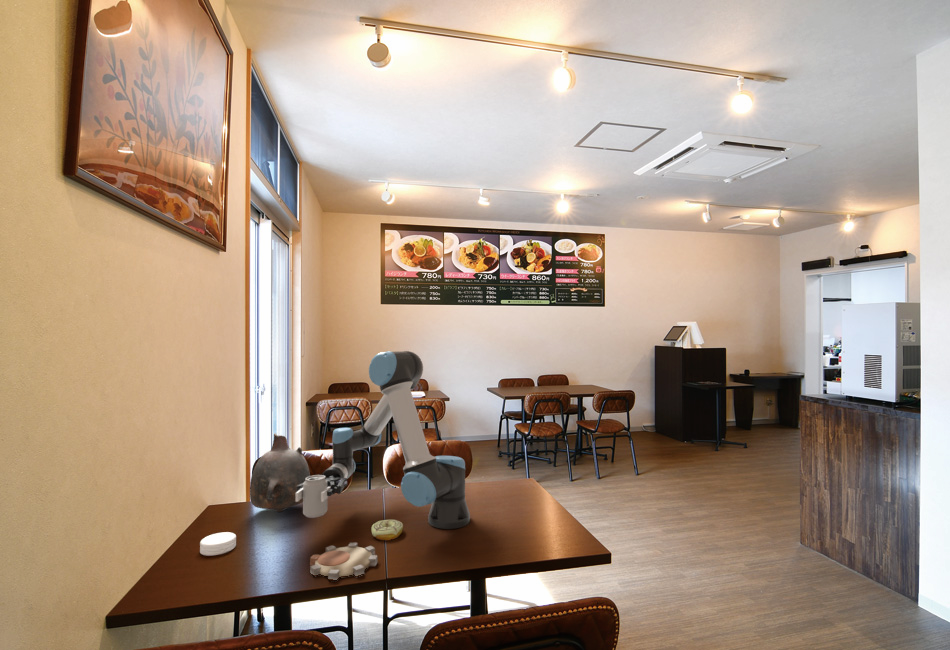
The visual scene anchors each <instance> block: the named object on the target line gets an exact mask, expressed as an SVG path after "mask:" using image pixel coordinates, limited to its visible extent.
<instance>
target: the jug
mask: <svg viewBox="0 0 950 650" xmlns="http://www.w3.org/2000/svg"><path fill="white" fill-rule="evenodd" d="M309 476H311V474H310V468H309V465H308V462H307V460H306V458H305V456H304V455H303V449H302V447H300V446H299V447H298V448H297V449H294V448H290V447H289V444H288V438H287V437H286V436H285V435H278V434H277V433H275V432H274V434H273V441H272V446H271V449H270V450H269V451H267V452H265V453H264V454H262V456H260V458H259V459H258V460H257V463H255V466H254V469H253V471H252V473H251V477H250V483H249V497H250V498H249V499H250V503H251V504H252V506H253V507H255V508H257V509H262V510H271V511H274V512H277V513H281V512H283V511H285V510H287V509H288V508H291V507H295V506H297V505H300V504H303V498H302V499H301V500H299V501H298V502H296V492H297V486H298V485H300V484H301V483H303V482H305V481H306V480H305V478H307V477H309Z"/></svg>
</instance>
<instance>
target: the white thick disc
mask: <svg viewBox="0 0 950 650" xmlns="http://www.w3.org/2000/svg"><path fill="white" fill-rule="evenodd" d="M199 546H200V547H199V553H200V554H201V555H203V556H208V557H209V556H218V555H223V554H225V553H226V554H227V553H229V552H230V551H232V550H234V548H236V546H237V535H236V533H234V532H229V531H226V532H225V531H224V532H217V533H212V534H210V535H206V536H205V537H204V538H202V539H201V540H200V542H199Z"/></svg>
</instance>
